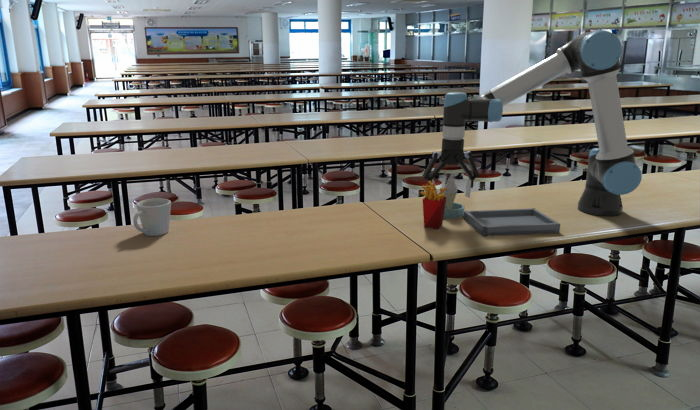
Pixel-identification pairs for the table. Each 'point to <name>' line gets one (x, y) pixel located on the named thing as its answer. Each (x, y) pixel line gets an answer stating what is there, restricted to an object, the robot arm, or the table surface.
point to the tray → (511, 222)
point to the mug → (153, 216)
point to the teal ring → (454, 211)
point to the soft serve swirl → (450, 192)
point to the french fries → (433, 206)
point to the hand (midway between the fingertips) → (449, 197)
